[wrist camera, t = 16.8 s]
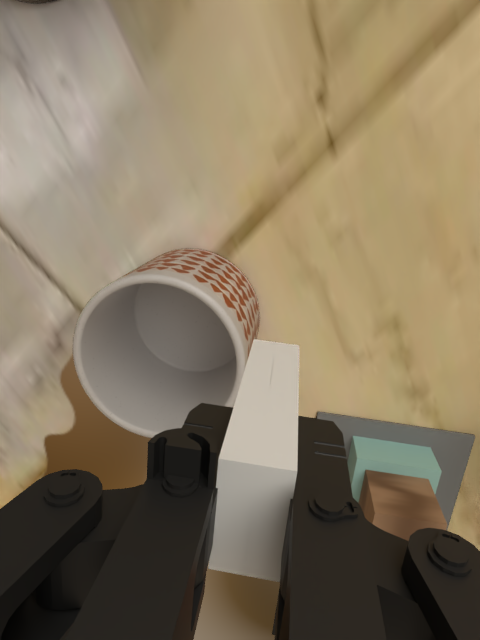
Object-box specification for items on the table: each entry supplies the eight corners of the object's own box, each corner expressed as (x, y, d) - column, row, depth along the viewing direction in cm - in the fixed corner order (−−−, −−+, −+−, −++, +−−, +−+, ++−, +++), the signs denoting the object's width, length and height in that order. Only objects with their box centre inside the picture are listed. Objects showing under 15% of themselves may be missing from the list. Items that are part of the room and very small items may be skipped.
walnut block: (355, 518, 46) (362, 566, 40) (365, 469, 44) (375, 512, 38) (415, 528, 45) (431, 578, 40) (428, 479, 43) (447, 524, 38)
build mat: (302, 503, 51) (302, 505, 51) (317, 411, 48) (317, 413, 47) (445, 527, 50) (446, 530, 49) (473, 434, 46) (475, 436, 46)
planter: (238, 231, 43) (214, 253, 31) (275, 359, 46) (266, 424, 34) (111, 267, 46) (43, 300, 34) (155, 386, 49) (107, 454, 37)
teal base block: (340, 497, 50) (343, 523, 46) (352, 435, 47) (357, 458, 44) (413, 509, 49) (423, 537, 45) (430, 447, 47) (441, 471, 43)
